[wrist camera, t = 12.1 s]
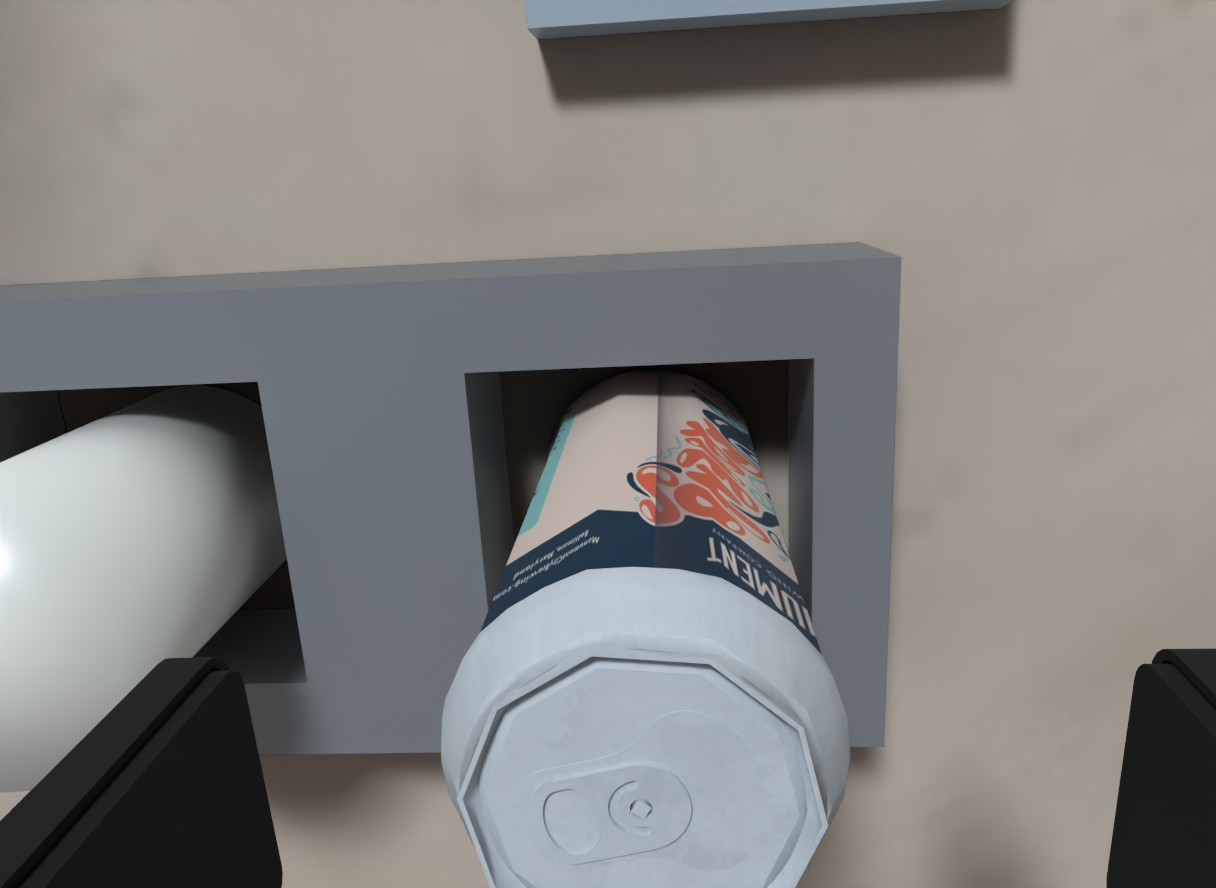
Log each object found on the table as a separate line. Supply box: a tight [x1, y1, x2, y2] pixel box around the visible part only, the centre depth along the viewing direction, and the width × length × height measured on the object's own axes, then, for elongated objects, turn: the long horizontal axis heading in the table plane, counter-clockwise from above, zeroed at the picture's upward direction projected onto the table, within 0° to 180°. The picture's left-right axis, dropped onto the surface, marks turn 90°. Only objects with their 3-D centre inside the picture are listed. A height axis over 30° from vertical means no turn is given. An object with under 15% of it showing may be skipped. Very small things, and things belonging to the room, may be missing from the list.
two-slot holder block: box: [0, 242, 901, 792], centre depth 18 cm, size 20×10×8 cm, turn 93°
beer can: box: [441, 369, 851, 888], centre depth 16 cm, size 5×5×12 cm
